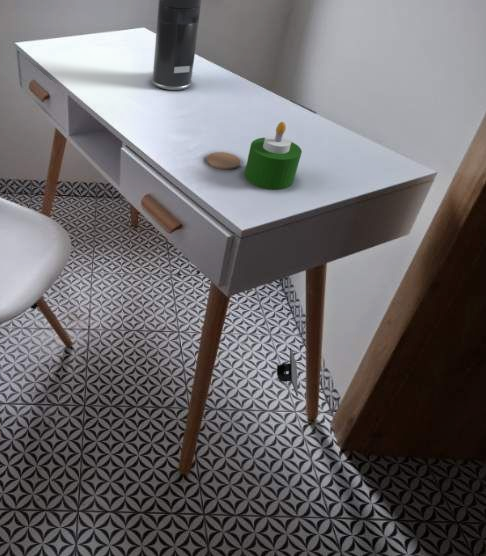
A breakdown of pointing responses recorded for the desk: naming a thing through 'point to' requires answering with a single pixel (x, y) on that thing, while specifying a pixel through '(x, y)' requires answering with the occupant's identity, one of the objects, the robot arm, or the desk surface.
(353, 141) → the desk surface
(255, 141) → the candle
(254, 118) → the desk surface
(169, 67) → the robot arm
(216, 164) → the coaster
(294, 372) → the build plate
